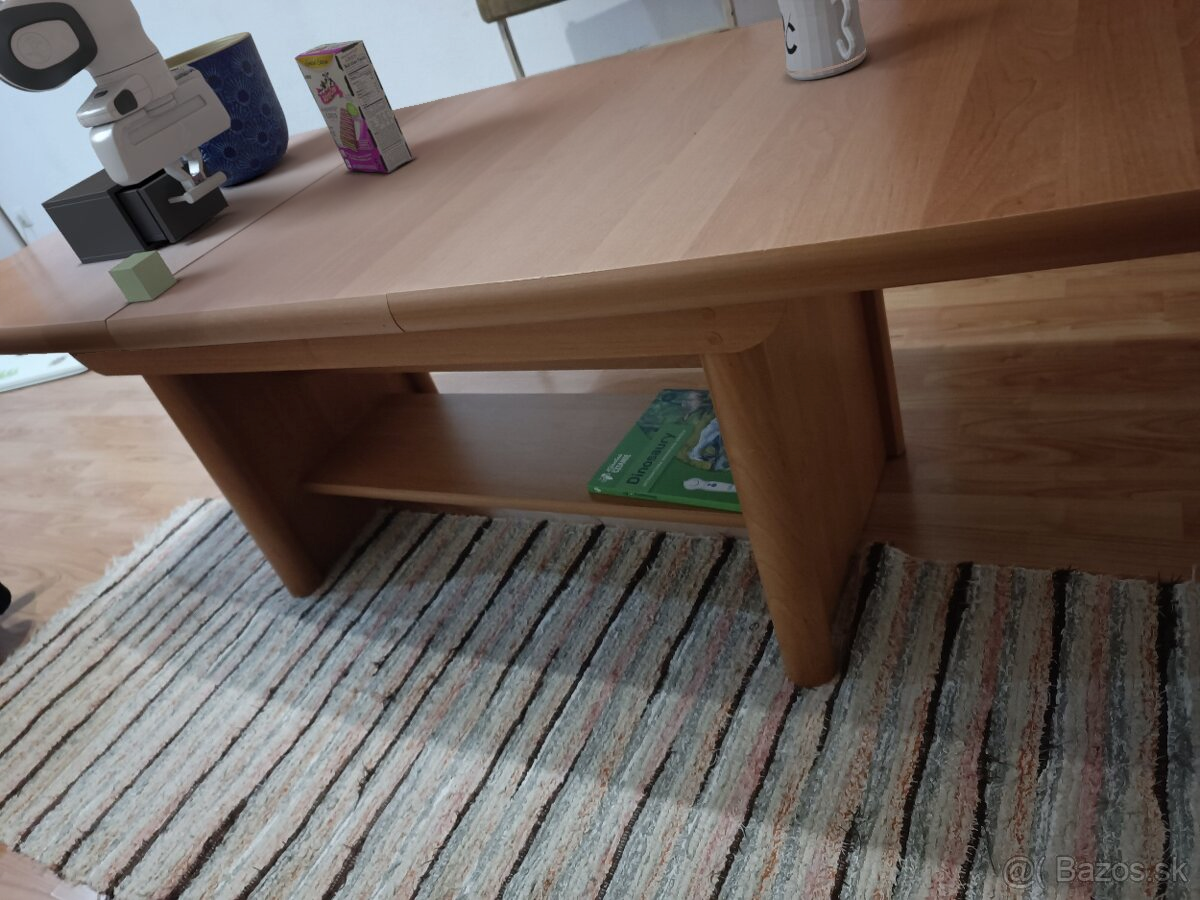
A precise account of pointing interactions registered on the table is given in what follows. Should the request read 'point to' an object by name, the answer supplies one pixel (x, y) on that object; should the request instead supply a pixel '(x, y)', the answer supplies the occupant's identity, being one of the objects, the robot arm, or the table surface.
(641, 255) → the table surface
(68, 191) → the cabinet
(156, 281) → the block
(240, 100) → the planter
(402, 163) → the candy bar box
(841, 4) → the mug
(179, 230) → the drawer
